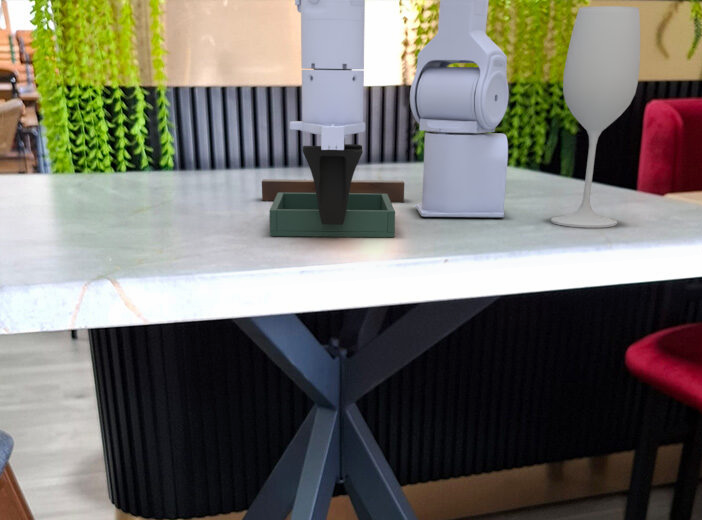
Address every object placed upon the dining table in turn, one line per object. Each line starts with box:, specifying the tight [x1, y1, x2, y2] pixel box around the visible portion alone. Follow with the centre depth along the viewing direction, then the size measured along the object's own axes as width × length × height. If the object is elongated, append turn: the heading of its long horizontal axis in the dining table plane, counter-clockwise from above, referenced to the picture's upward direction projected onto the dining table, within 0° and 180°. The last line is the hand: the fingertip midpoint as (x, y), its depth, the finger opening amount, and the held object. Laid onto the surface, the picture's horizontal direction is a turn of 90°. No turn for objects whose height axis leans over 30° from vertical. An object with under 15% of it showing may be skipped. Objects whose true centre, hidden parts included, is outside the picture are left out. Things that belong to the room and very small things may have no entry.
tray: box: [269, 192, 396, 238], centre depth 95 cm, size 12×14×2 cm
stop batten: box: [261, 178, 405, 203], centre depth 114 cm, size 18×2×2 cm, turn 91°
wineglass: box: [550, 5, 641, 229], centre depth 95 cm, size 8×8×21 cm
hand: (332, 223), depth 88 cm, fingers closed
